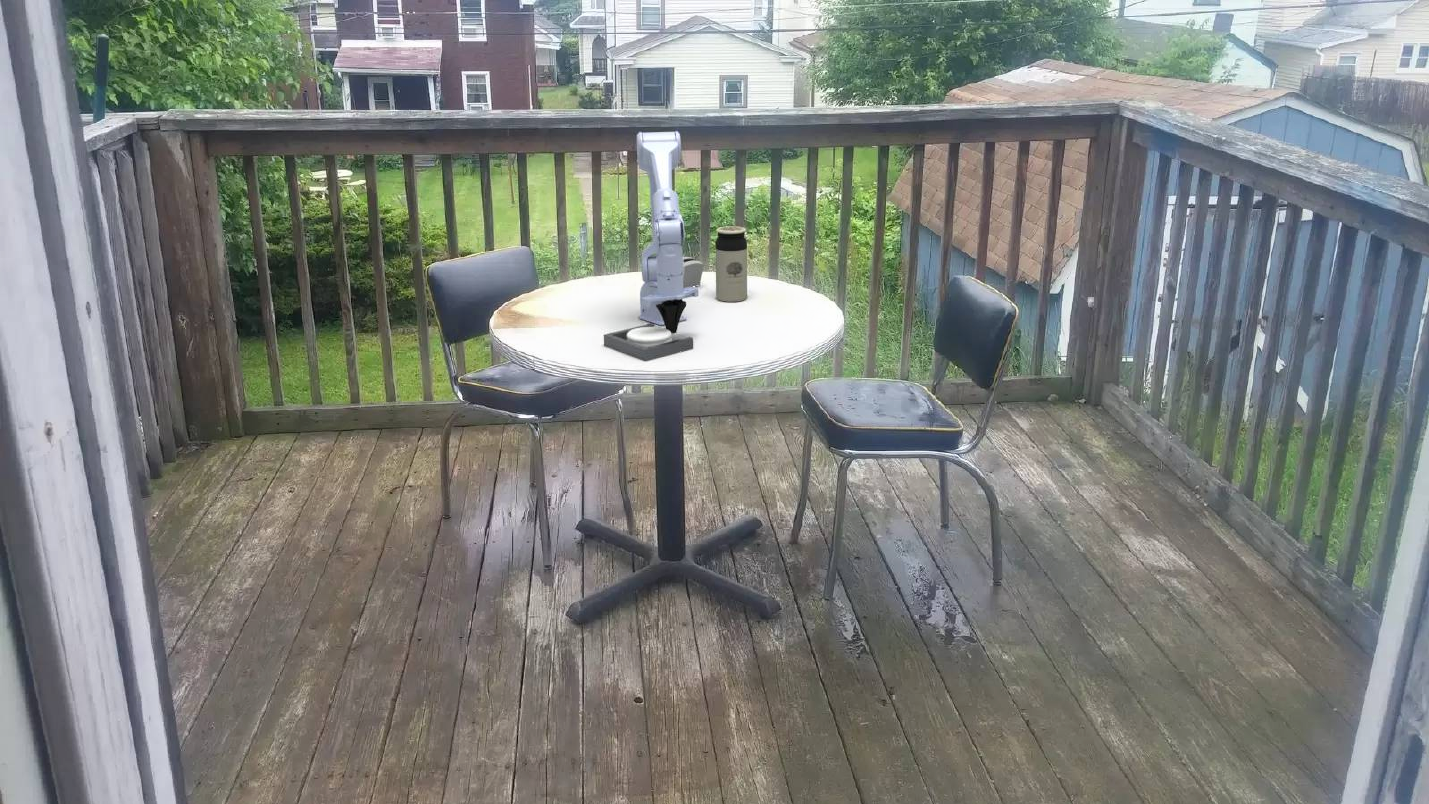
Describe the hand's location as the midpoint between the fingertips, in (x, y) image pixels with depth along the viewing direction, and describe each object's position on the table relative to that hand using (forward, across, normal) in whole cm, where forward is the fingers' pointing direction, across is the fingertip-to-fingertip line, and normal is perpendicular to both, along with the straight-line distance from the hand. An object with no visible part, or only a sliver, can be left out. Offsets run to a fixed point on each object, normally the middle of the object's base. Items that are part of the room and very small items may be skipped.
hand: (671, 332), depth 252 cm
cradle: (+2, -7, 0) cm, 7 cm away
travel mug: (+2, +34, +19) cm, 39 cm away
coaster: (+2, -6, 0) cm, 7 cm away
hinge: (+3, +29, +35) cm, 45 cm away
